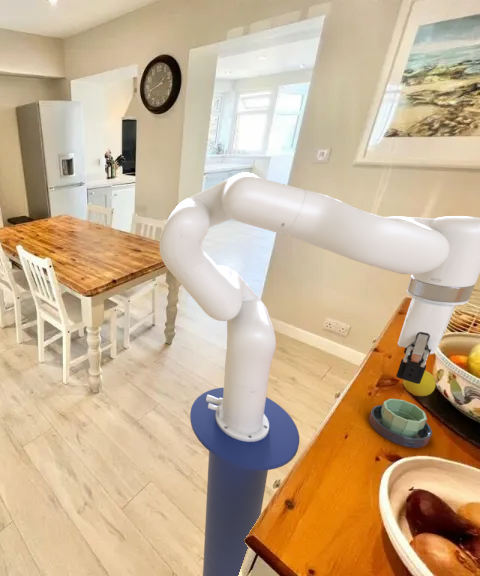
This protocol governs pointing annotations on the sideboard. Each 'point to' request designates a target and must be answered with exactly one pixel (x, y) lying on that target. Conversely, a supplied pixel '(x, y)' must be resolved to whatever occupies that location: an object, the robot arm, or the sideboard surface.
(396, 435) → the bottom bowl
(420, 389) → the lemon
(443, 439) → the sideboard surface
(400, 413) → the top bowl
